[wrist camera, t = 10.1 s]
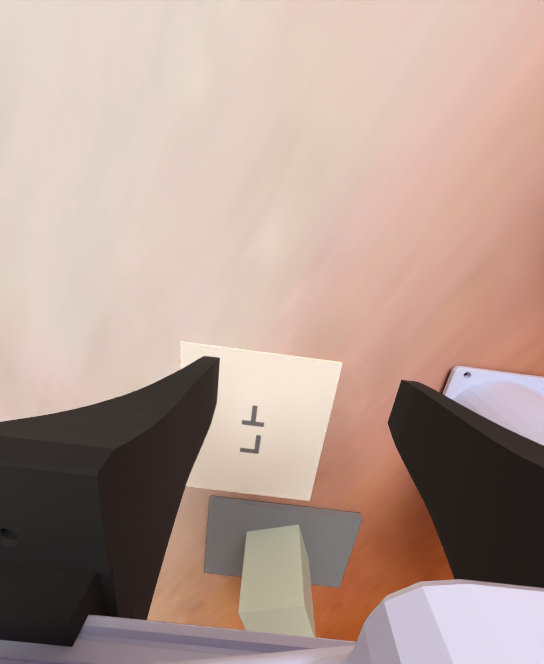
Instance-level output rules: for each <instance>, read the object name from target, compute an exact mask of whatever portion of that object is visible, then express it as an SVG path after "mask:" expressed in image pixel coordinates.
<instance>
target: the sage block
mask: <svg viewBox="0 0 544 664" xmlns="http://www.w3.org/2000/svg"><path fill="white" fill-rule="evenodd" d="M238 614H239V616H240V618H241V621H242V623H243V625H244V627H245V630H248V631H257V632H267V633H277V634H287V635H297V636H307V637H316V634H315V623H314V612H313V601H312V590H311V579H310V568H309V559H308V555H307V552H306V548H305V544H304V541H303V537H302V534H301V530H300V527H299V524H298V525H291V526H284V527H277V528H270V529H262V530H255V531H248V532H247V534H246V543H245V553H244V562H243V571H242V581H241V590H240V600H239V609H238Z"/></svg>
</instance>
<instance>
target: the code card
mask: <svg viewBox="0 0 544 664" xmlns="http://www.w3.org/2000/svg"><path fill="white" fill-rule="evenodd" d="M203 356H210V357H218V358H220V365H219V380H218V395H217V404H216V408H215V412H214V415H213V419H212V422H211V425H210V428H209V430H208V433H207V435H206V437H205V440H204V442H203V445H202V447H201V449H200V452H199V454H198V456H197V459H196V461H195V463H194V466H193V468H192V471H191V473H190V475H189V478H188V481H187V483H186V486H185V487H194V488H202V489H211V490H219V491H228V492H236V493H245V494H254V495H262V496H271V497H279V498H288V499H296V500H305V501H310V497H311V493H312V489H313V485H314V480H315V476H316V472H317V468H318V464H319V460H320V455H321V451H322V447H323V443H324V439H325V435H326V430H327V426H328V422H329V418H330V414H331V410H332V405H333V401H334V397H335V393H336V389H337V385H338V380H339V376H340V372H341V368H342V364H343V363H342V362H337V361H330V360H322V359H314V358H306V357H298V356H291V355H283V354H275V353H267V352H260V351H252V350H244V349H236V348H228V347H221V346H213V345H205V344H197V343H190V342H182V341H181V342H180V369H182V368H184V367H186V366H187V365H189V364H191V363H192V362H194V361H196V360H197V359H199V358H201V357H203Z"/></svg>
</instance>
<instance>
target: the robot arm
mask: <svg viewBox="0 0 544 664" xmlns="http://www.w3.org/2000/svg"><path fill="white" fill-rule="evenodd" d="M219 365H220V358H218V357H210V356H203V357H201V358H199V359H197V360H196V361H194V362H192V363H191V364H189V365H187V366H186V367H184V368H182V369H180V370H179V371H177V372H175V373H173V374H171V375H169V376H167V377H165V378H163V379H161V380H159V381H157V382H155V383H153V384H151V385H149V386H147V387H144V388H142V389H139V390H137V391H134V392H132V393H129V394H126V395H123V396H120V397H117V398H114V399H110V400H107V401H104V402H100V403H97V404H94V405H90V406H86V407H82V408H77V409H73V410H68V411H64V412H59V413H54V414H49V415H43V416H37V417H30V418H24V419H17V420H10V421H4V422H0V664H544V377H540V376H533V375H525V374H517V373H510V372H502V371H494V370H486V369H479V368H471V367H463V366H457V367H454V368H453V369H452V371H451V373H450V375H449V378H448V381H447V383H446V386H445V388H444V391H443V393H442V394H441V393H439V392H438V391H436V390H434V389H432V388H430V387H428V386H426V385H424V384H421V383H419V382H415V381H406V380H401V383H400V386H399V389H398V392H397V396H396V399H395V402H394V405H393V408H392V411H391V414H390V417H389V421H388V425H389V428H390V431H391V434H392V437H393V440H394V443H395V446H396V448H397V450H398V452H399V454H400V456H401V458H402V460H403V462H404V464H405V466H406V468H407V469H408V471H409V473H410V475H411V477H412V479H413V481H414V483H415V485H416V487H417V489H418V491H419V493H420V495H421V496H422V498H423V500H424V502H425V505H426V507H427V509H428V511H429V513H430V515H431V518H432V520H433V523H434V525H435V528H436V530H437V533H438V535H439V538H440V540H441V543H442V546H443V548H444V551H445V554H446V557H447V559H448V562H449V565H450V568H451V570H452V573H453V576H454V578H455V579H454V580H438V581H421V582H418V583H416V584H413V585H411V586H408V587H406V588H403V589H401V590H398V591H396V592H394V593H391V594H389V595H387V596H386V597H385V598H384V599H383V600H382V601H381V602H380V603H379V605H378V606H377V607H376V608H375V609H374V610H373V611H372V612H371V613H370V615H369V616H368V618H367V619H366V621H365V623H364V624H363V627H362V629H361V632H360V634H359V637H358V639H357V642H356V641H346V640H336V639H327V638H317V637H307V636H297V635H287V634H277V633H267V632H257V631H248V630H238V629H228V628H218V627H208V626H198V625H188V624H179V623H169V622H159V621H149V620H147V616H148V613H149V609H150V605H151V602H152V598H153V594H154V591H155V587H156V584H157V580H158V577H159V573H160V570H161V566H162V563H163V559H164V555H165V552H166V548H167V545H168V542H169V538H170V535H171V532H172V528H173V525H174V522H175V518H176V515H177V512H178V508H179V505H180V502H181V499H182V496H183V492H184V489H185V486H186V483H187V481H188V478H189V475H190V473H191V471H192V468H193V466H194V463H195V461H196V459H197V456H198V454H199V452H200V449H201V447H202V445H203V442H204V440H205V437H206V435H207V433H208V430H209V428H210V425H211V422H212V419H213V415H214V412H215V408H216V404H217V395H218V380H219ZM466 372H468V373H467V374H466V375H465V376H464V374H465V373H466Z"/></svg>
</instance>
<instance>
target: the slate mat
mask: <svg viewBox="0 0 544 664" xmlns="http://www.w3.org/2000/svg"><path fill="white" fill-rule="evenodd" d="M361 522H362V516H361V513H355V512H346V511H338V510H329V509H321V508H312V507H304V506H295V505H286V504H278V503H269V502H261V501H252V500H244V499H235V498H226V497H218V496H210V500H209V511H208V525H207V538H206V552H205V566H204V573H211V574H220V575H229V576H238V577H242V571H243V562H244V553H245V543H246V534H247V532H248V531H255V530H262V529H270V528H277V527H284V526H291V525H298V524H299V527H300V530H301V534H302V537H303V541H304V544H305V548H306V552H307V555H308V559H309V568H310V579H311V585H319V586H329V587H338V588H339V587H340V584H341V581H342V578H343V575H344V572H345V569H346V566H347V563H348V560H349V557H350V554H351V551H352V548H353V546H354V543H355V540H356V537H357V534H358V531H359V528H360V525H361Z"/></svg>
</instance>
